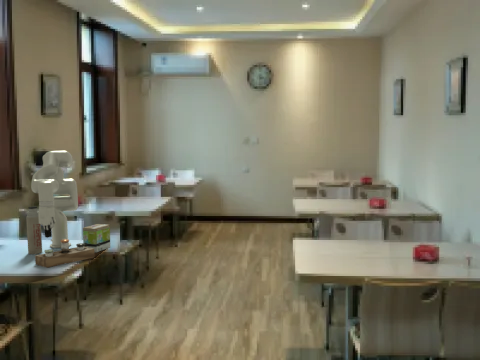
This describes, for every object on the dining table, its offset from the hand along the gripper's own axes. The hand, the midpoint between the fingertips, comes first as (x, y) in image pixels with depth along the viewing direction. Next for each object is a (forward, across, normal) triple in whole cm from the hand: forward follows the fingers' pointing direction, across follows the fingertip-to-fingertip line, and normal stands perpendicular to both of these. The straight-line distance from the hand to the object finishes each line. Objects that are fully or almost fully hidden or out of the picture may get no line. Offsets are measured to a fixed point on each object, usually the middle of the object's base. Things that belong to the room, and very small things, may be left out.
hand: (48, 236), depth 309 cm
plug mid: (+11, +1, +9) cm, 14 cm away
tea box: (+16, -9, +37) cm, 42 cm away
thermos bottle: (+16, -32, +9) cm, 37 cm away
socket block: (+15, +1, +9) cm, 18 cm away
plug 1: (+15, +1, -1) cm, 15 cm away
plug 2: (+15, +1, +19) cm, 24 cm away
